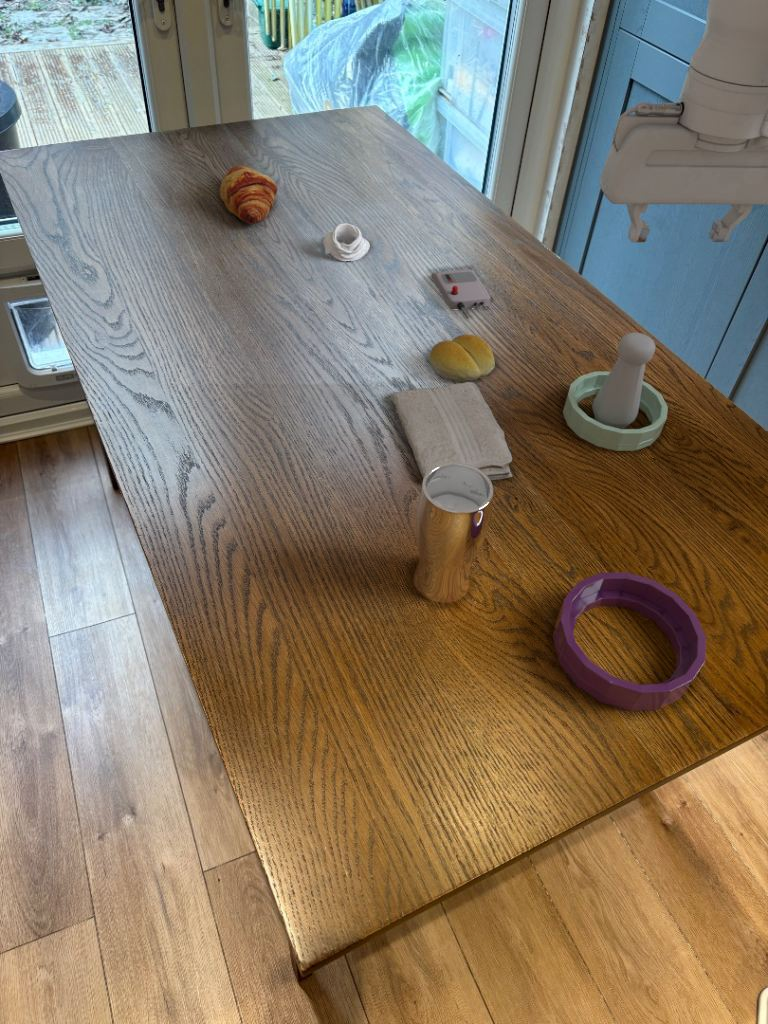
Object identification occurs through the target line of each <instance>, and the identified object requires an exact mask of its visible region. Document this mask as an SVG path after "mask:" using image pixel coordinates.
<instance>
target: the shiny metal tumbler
mask: <svg viewBox="0 0 768 1024" xmlns="http://www.w3.org/2000/svg"><path fill="white" fill-rule="evenodd" d="M493 498H494V485H493V483H492V480H490V479H489V478H488V476H487V475H486V474H485V473H484V472H482V471H481V470H479V469H478V468H476V467H474V466H471V465H468V464H464V463H456V462H451V463H444V464H440V465H438V466H435V467H434V468H432V469H431V470H429V471H428V472H427V473H426V475H425V477H424V478H423V479H422V485H421V488H420V493H419V497H418V500H417V507H416V512H415V538H416V546H417V554H418V563H417V567H416V569H415V571H414V573H413V584H414V586H415V588H416V591H418V593H420V594H421V596H423V597H424V598H425V599H427V600H429V601H432V602H435V603H446V604H447V603H448V604H449V603H453V602H456V601H459V600H460V599H462V598H463V597H464V596H465V595H466V594H467V593H468V591H469V587H470V570H471V567H472V566H473V563H474V561H475V559H476V557H477V555H478V554H479V552H480V551H481V550H480V549H482V546H483V543H484V542H485V539H486V536H487V533H488V528H489V524H490V520H491V515H492V505H493Z"/></svg>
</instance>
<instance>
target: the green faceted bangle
mask: <svg viewBox="0 0 768 1024" xmlns="http://www.w3.org/2000/svg"><path fill="white" fill-rule="evenodd" d="M610 372H611V370H610V371H605V370H604V371H603V370H602V371H593V372H592V371H591V372H589V373H585V374H583V375H580V376H578V377H577V378H576V379H575V380H574V381H572V383H570V385H569V389H568V392H567V395H566V399H565V402H564V406H563V410H562V415H563V417H564V420H565V422H566V425H567V426H568V427H569V428H570V429H571V431H573V432H574V433H575V434H576V435H577V436H578V437H579V438H581V439H583V440H584V441H585V442H588V443H590V444H592V445H594V446H596V447H599V448H603V449H608V450H611V451H616V452H622V451H623V452H625V451H627V452H630V451H631V452H632V451H638V450H641V449H644V448H647V447H650V446H651V445H652V444H654V442H655V441H656V440H657V439H658V438H659V437H660V435H661V433H662V431H663V428H664V426H665V423H666V421H667V419H668V411H669V407H668V404H667V402H666V400H665V399H664V397H663V395H662V394H661V392H659V391H658V390H657V389H655V387H653V385H651V384H650V383H649V382H646V381H645V380H643V384H642V390H641V397H640V403H639V409H640V410H641V411H642V412H643V413H644V414H645V415H646V417H647V419H648V421H649V425H647V426H643V427H641V428H624V429H619V428H615V427H611V426H606V425H604V424H602V423H600V422H598V421H596V420H595V418H592V417H590V416H588V414H587V413H586V412H585V411H583V410H582V408H580V406H579V404H578V403H580V402H581V401H582V400H583V399H585V398H589V397H592V396H597V394H598V393H599V391H600V389H601V387H602V386H603V384H604V382H605V380H606V379H607V377H608V375H609V373H610Z"/></svg>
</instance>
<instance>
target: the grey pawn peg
mask: <svg viewBox="0 0 768 1024" xmlns="http://www.w3.org/2000/svg"><path fill="white" fill-rule="evenodd" d="M656 348H657V347H656V344H655V342H654V340H653V339H652V338H651V337H650V336H648V335H647V334H644V333H641V332H629V333H626V334H625V335H623V336H622V337H621V338H620V341H619V343H618V345H617V349H616V352H617V354H618V357H617V359H616V361H615V363H614V365H613V366H612V368H611V370H610V371H611V372H610V373H609V375H608V377H607V379H606V380H605V382H604V384H603V386H602V387H601V389H600V391H599V393H598V394H597V395H595V398H594V400H593V402H592V406H591V408H592V412H593V417H594V418H593V419H594V420H596V421H598V422H600V423H602V424H604V425H606V426H611V427H615V428H619V429H626V428H627V426H629V425H631V424H632V423H634V422H635V420H636V418H637V417H638V414H639V409H640V408H639V403H640V397H641V390H642V384H643V381H644V377H645V369H646V364H647V363H649V362H650V361H651V360H653V357H654V354H655V352H656Z"/></svg>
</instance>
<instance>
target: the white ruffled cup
mask: <svg viewBox="0 0 768 1024" xmlns="http://www.w3.org/2000/svg"><path fill="white" fill-rule="evenodd" d="M322 243H323V246H324V253H325V254H326V255H331V256H332V257H333V258H335V259H336V260H338V261H340V262H345V263H347V262H346V261H351V262H356V261H358V260H360V259H362V258H363V257H364V256H366V254H367V253H368V252H369V250H370V247H371V245H370V242H369V241H368V240H367V239H366V238H365V237H363V235H362V232H361V230H360V229H359V228H358V227H357V226H356V225H354V224H350V223H347V222H346V223H345V222H344V223H340V224H337V225H336V226H335V227H334V229H333V230H332V231H330V232H328V233H326V234H325V236H324V237H323V241H322Z"/></svg>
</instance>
